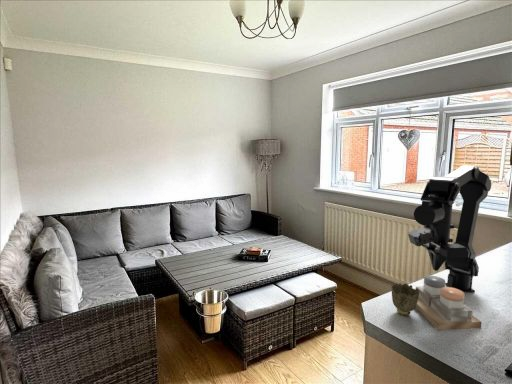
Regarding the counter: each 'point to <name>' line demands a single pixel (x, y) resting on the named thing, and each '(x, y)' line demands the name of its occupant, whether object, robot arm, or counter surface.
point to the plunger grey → (433, 284)
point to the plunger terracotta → (452, 298)
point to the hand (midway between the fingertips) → (435, 270)
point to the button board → (444, 313)
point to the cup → (404, 298)
